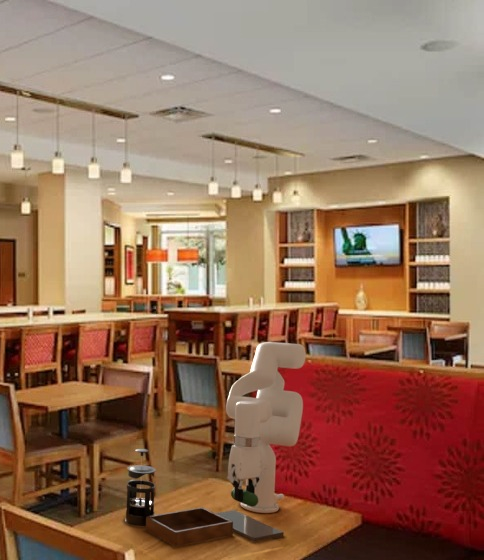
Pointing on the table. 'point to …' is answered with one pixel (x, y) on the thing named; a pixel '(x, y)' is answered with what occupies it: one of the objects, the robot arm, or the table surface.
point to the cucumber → (247, 498)
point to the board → (250, 527)
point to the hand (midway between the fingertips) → (244, 499)
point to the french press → (140, 506)
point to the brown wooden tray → (189, 526)
